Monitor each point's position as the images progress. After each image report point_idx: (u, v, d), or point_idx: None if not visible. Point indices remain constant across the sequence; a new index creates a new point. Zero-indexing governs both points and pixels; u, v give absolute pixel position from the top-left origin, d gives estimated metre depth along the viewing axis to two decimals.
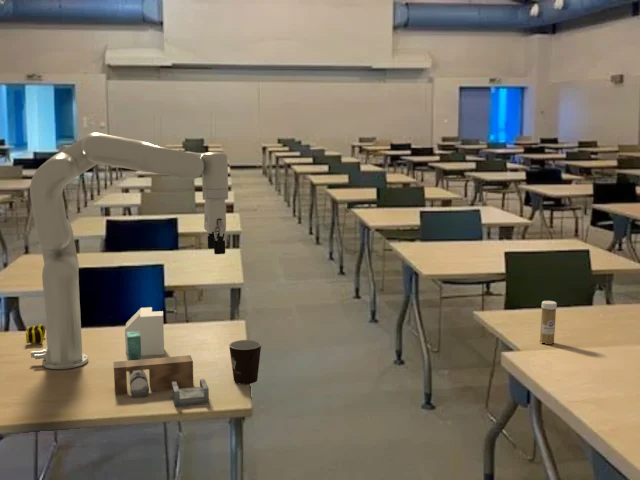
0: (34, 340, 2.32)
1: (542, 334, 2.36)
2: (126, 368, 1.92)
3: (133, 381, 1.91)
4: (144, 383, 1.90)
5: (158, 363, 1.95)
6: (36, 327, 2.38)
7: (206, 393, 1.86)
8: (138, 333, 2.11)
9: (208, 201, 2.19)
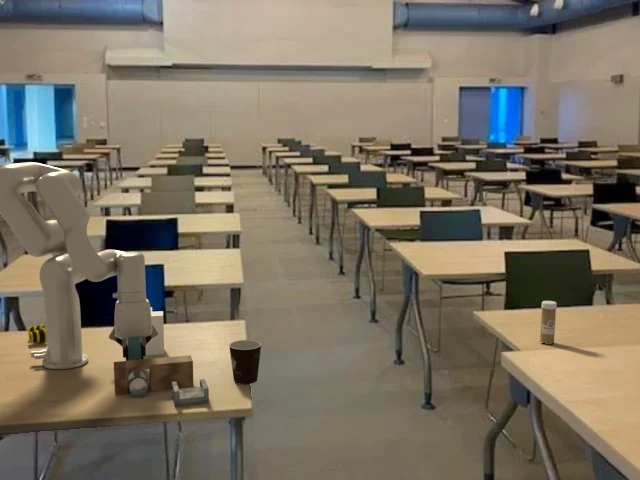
0: (38, 340, 2.33)
1: (542, 334, 2.36)
2: (126, 368, 1.92)
3: (131, 382, 1.91)
4: (142, 383, 1.90)
5: (158, 363, 1.95)
6: (37, 327, 2.38)
7: (206, 393, 1.86)
8: None
9: (141, 304, 2.08)
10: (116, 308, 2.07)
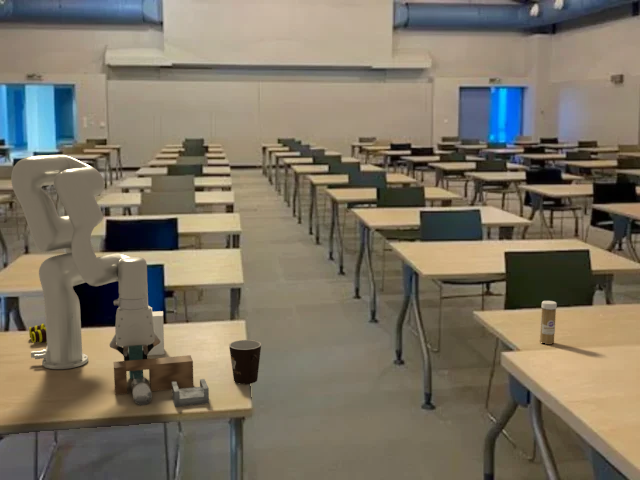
0: (41, 339, 2.33)
1: (542, 334, 2.36)
2: (126, 368, 1.92)
3: (137, 387, 1.86)
4: (148, 391, 1.85)
5: (158, 363, 1.95)
6: (38, 327, 2.38)
7: (206, 393, 1.86)
8: None
9: (143, 311, 2.00)
10: (117, 315, 1.99)
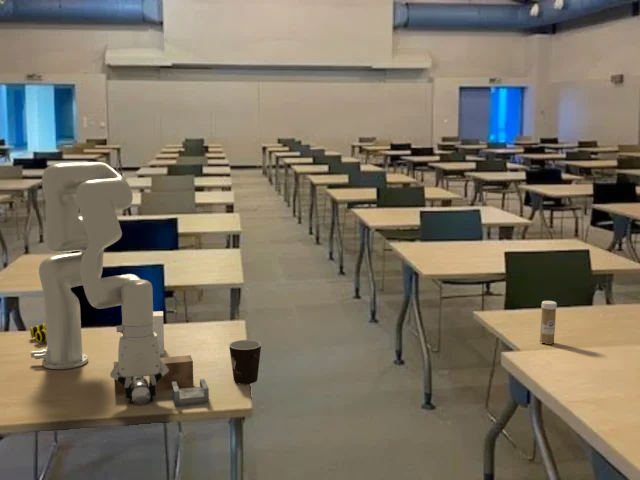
0: None
1: (542, 334, 2.36)
2: None
3: (135, 388, 1.86)
4: (146, 390, 1.85)
5: None
6: (40, 327, 2.39)
7: (206, 393, 1.86)
8: None
9: (148, 339, 1.84)
10: (120, 344, 1.83)
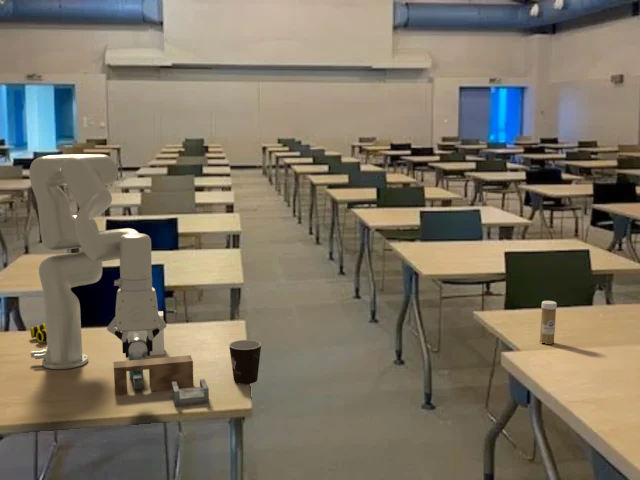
0: None
1: (542, 334, 2.36)
2: (126, 368, 1.92)
3: (132, 342, 1.84)
4: (143, 345, 1.84)
5: (158, 363, 1.95)
6: (41, 326, 2.39)
7: (206, 393, 1.86)
8: None
9: (146, 293, 1.82)
10: (118, 297, 1.81)
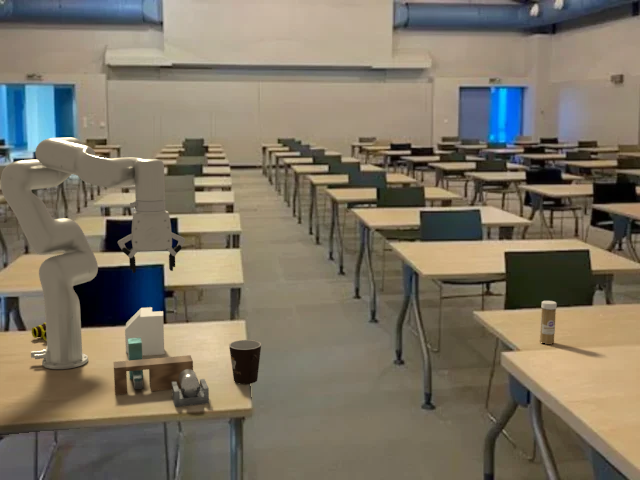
0: None
1: (542, 334, 2.36)
2: (126, 368, 1.92)
3: (185, 379, 1.86)
4: (196, 382, 1.85)
5: (158, 363, 1.95)
6: (43, 326, 2.39)
7: (206, 393, 1.86)
8: (139, 340, 2.05)
9: (160, 214, 1.94)
10: (134, 218, 1.92)
